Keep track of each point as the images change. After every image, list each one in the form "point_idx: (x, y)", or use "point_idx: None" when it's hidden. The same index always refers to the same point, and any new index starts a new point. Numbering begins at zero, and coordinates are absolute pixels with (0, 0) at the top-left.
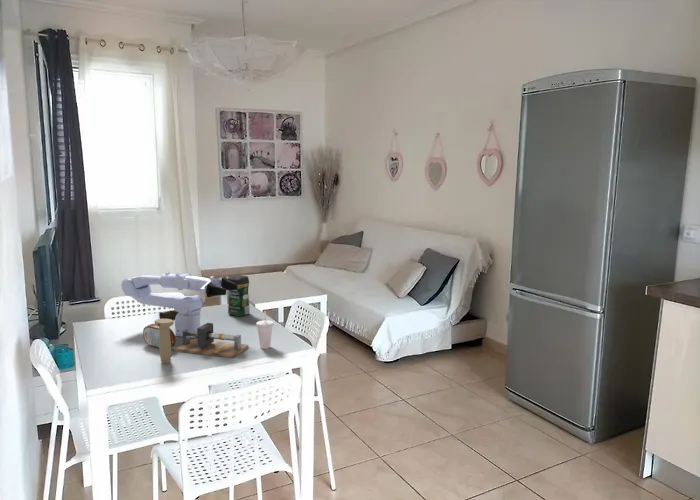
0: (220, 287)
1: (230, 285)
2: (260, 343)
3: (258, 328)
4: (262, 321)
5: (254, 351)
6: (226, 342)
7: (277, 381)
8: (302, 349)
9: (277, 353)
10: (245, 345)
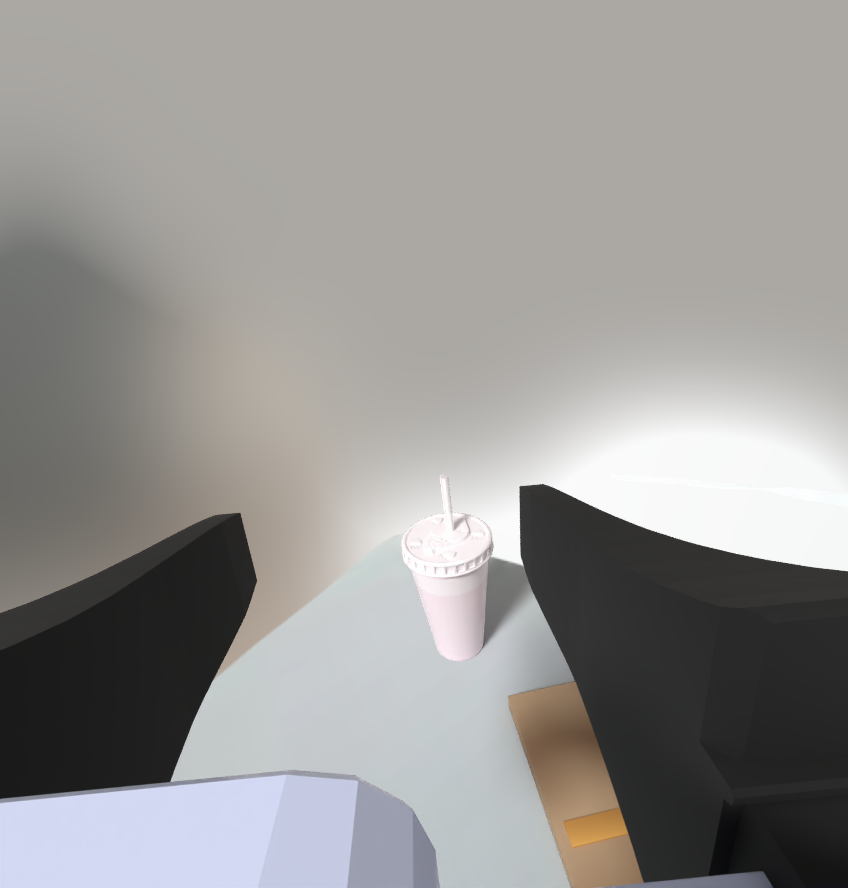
0: (566, 511)
1: (181, 618)
2: (483, 628)
3: (485, 564)
4: (440, 546)
5: (536, 644)
6: (578, 880)
7: (660, 479)
8: None
9: (494, 570)
10: (529, 700)
